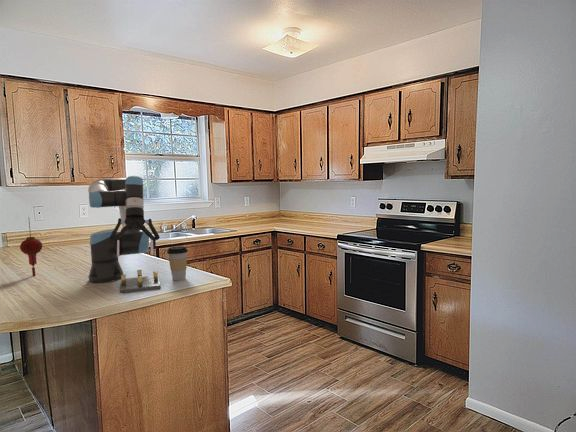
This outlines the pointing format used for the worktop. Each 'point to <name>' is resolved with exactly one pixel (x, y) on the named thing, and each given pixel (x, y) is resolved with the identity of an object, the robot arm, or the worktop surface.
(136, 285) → the pin plate
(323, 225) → the worktop surface
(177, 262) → the coffee cup
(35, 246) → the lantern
